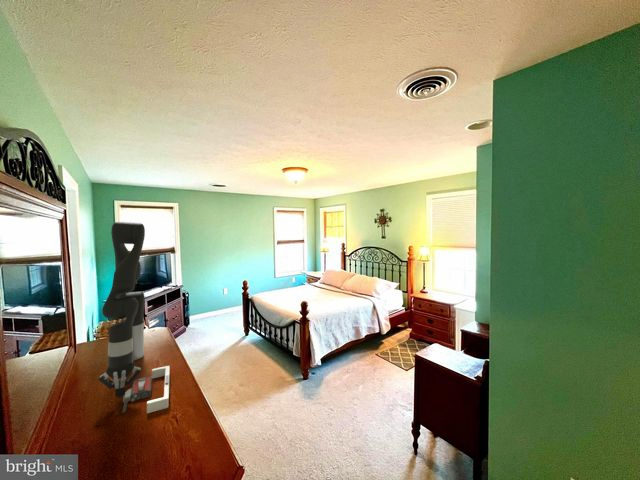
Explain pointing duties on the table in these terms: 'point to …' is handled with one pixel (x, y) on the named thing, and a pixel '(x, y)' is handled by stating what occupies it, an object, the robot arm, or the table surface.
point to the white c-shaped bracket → (164, 401)
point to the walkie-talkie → (138, 391)
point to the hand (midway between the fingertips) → (120, 396)
